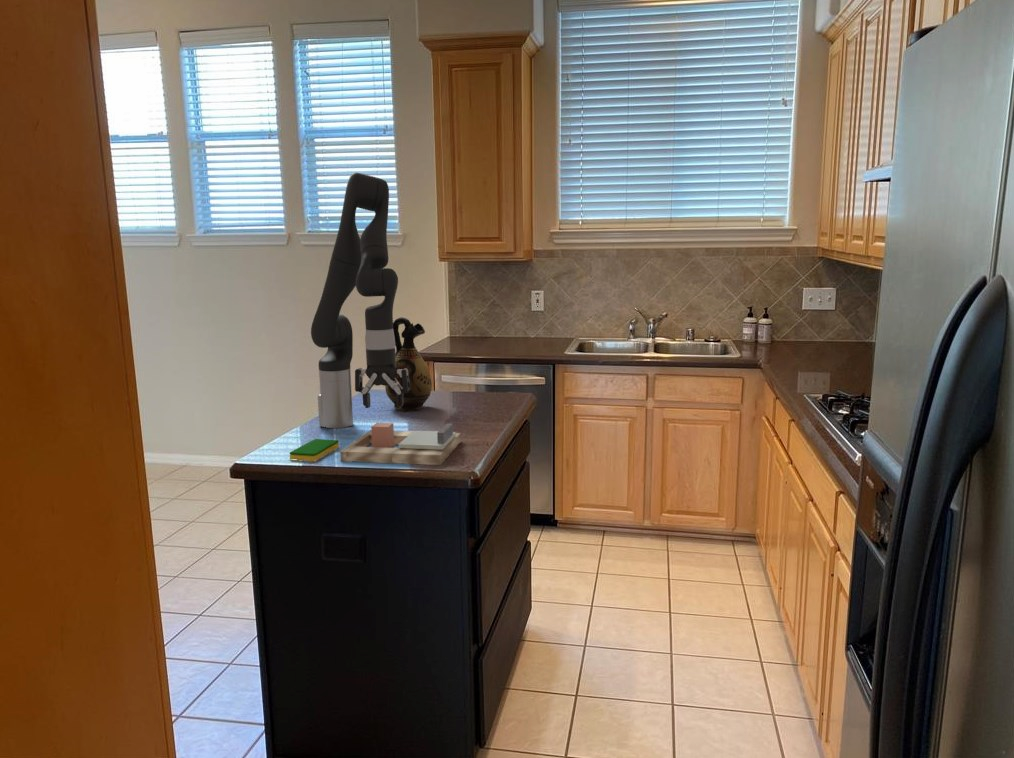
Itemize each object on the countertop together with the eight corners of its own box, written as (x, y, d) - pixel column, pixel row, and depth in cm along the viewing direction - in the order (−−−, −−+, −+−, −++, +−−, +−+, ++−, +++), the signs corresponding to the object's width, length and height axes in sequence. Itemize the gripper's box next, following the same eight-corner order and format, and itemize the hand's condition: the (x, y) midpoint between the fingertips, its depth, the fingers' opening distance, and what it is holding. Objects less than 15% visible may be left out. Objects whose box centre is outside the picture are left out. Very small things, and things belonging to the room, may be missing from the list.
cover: (398, 448, 190) (398, 433, 189) (414, 434, 203) (413, 420, 203) (442, 449, 188) (442, 434, 187) (455, 435, 202) (455, 421, 201)
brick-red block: (372, 452, 196) (371, 426, 195) (378, 447, 201) (377, 422, 200) (388, 453, 196) (387, 427, 194) (394, 448, 200) (393, 423, 199)
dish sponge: (339, 448, 202) (339, 439, 202) (315, 463, 189) (314, 454, 188) (315, 447, 204) (314, 438, 203) (289, 461, 190) (288, 452, 190)
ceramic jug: (442, 406, 251) (439, 317, 246) (412, 415, 238) (409, 321, 233) (403, 401, 260) (400, 314, 255) (372, 409, 247) (368, 319, 242)
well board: (340, 461, 189) (340, 451, 188) (370, 438, 210) (370, 430, 210) (440, 465, 184) (440, 455, 184) (461, 441, 206) (460, 433, 205)
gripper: (348, 348, 191) (352, 410, 194) (402, 348, 189) (405, 411, 192) (359, 344, 198) (362, 404, 201) (411, 344, 196) (413, 405, 199)
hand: (383, 407), depth 196 cm, fingers open, 8 cm apart
